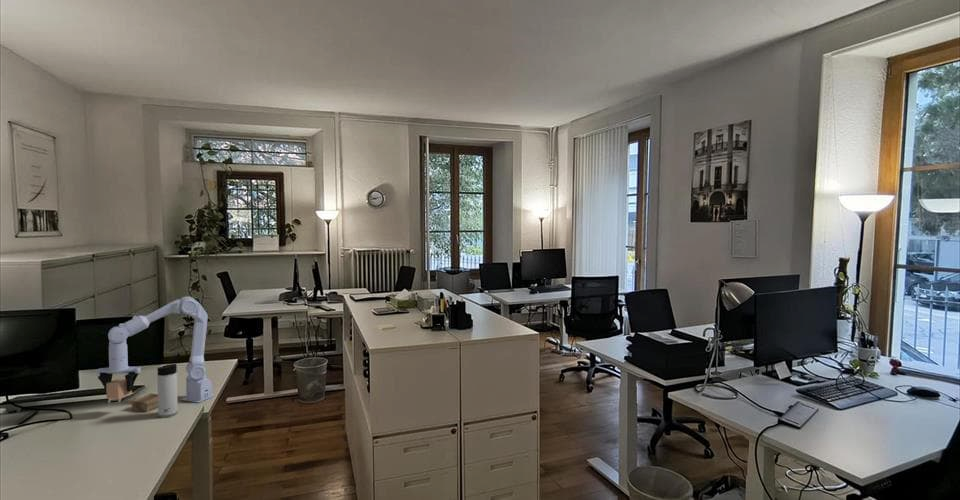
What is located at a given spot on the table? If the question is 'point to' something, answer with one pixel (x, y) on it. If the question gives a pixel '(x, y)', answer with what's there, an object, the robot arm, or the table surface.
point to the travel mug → (167, 391)
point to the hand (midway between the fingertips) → (119, 391)
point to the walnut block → (145, 403)
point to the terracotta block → (117, 389)
